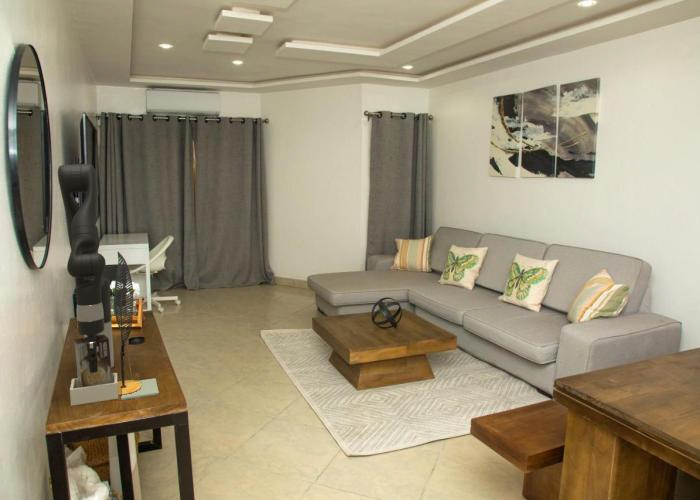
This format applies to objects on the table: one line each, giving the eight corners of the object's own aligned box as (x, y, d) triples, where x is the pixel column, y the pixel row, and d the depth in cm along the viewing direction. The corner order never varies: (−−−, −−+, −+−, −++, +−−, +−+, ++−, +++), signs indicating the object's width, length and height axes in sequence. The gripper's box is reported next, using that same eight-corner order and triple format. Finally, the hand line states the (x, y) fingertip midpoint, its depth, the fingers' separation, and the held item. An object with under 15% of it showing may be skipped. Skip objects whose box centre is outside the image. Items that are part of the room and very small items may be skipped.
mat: (120, 385, 178) (120, 383, 178) (155, 379, 183) (155, 378, 183) (121, 400, 166) (121, 398, 166) (158, 394, 170) (158, 392, 170)
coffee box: (108, 381, 174) (105, 333, 172) (113, 387, 169) (110, 338, 167) (77, 387, 169) (73, 338, 167) (81, 394, 164) (77, 343, 162)
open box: (73, 393, 171) (72, 378, 170) (117, 387, 176) (116, 372, 176) (70, 405, 162) (69, 390, 161) (118, 398, 167) (117, 383, 166)
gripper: (78, 313, 171) (81, 362, 173) (75, 324, 158) (79, 377, 160) (103, 310, 174) (107, 359, 176) (103, 321, 161) (107, 374, 163)
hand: (94, 368), depth 168 cm, fingers closed on coffee box, 7 cm apart
